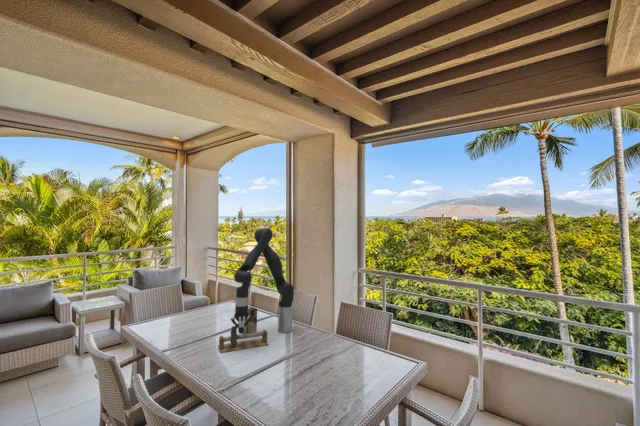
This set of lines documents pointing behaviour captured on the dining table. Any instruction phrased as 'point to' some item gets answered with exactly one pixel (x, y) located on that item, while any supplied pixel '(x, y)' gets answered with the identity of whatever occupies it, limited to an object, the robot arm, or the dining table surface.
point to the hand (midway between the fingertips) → (240, 333)
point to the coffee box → (251, 322)
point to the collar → (234, 336)
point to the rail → (243, 342)
